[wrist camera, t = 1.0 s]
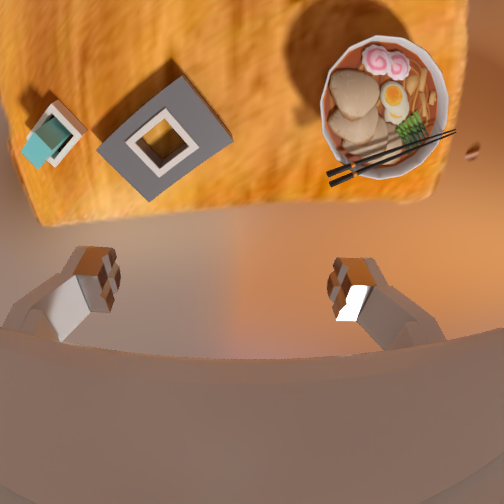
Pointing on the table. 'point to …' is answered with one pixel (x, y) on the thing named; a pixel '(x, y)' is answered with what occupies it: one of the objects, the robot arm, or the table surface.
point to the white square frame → (67, 121)
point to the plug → (45, 142)
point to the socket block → (184, 123)
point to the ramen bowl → (383, 108)
